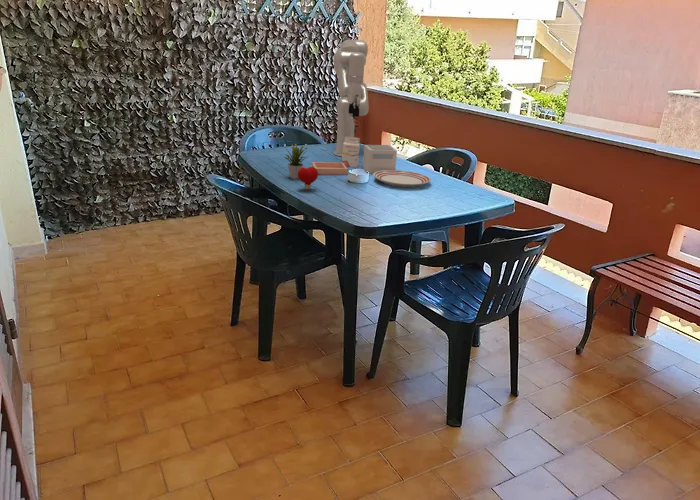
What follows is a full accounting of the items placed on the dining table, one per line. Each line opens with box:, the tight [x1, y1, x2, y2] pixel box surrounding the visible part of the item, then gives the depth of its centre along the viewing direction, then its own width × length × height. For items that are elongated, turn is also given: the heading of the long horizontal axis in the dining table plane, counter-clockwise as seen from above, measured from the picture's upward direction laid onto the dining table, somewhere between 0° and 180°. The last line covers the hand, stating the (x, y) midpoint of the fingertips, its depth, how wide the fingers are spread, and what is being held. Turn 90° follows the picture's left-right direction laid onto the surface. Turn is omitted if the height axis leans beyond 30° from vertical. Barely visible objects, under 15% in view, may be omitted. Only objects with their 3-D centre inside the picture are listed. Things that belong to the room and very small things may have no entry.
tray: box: [311, 161, 349, 176], centre depth 267 cm, size 13×16×3 cm
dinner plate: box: [372, 169, 431, 188], centre depth 257 cm, size 27×27×3 cm
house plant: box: [281, 142, 311, 180], centre depth 251 cm, size 14×14×16 cm
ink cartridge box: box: [341, 136, 361, 168], centre depth 279 cm, size 9×5×15 cm, turn 84°
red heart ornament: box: [298, 166, 319, 191], centre depth 234 cm, size 9×7×10 cm
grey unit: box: [362, 144, 398, 175], centre depth 273 cm, size 13×14×12 cm
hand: (353, 115), depth 271 cm, fingers open, 9 cm apart
